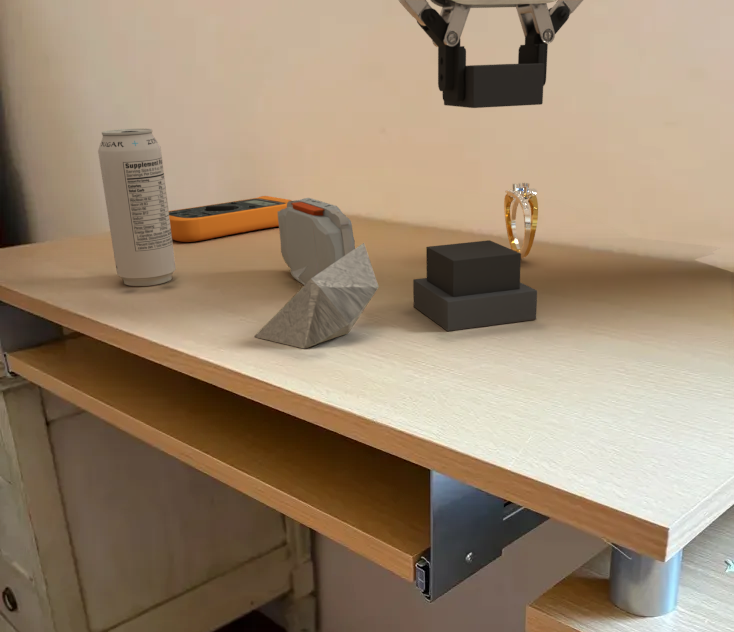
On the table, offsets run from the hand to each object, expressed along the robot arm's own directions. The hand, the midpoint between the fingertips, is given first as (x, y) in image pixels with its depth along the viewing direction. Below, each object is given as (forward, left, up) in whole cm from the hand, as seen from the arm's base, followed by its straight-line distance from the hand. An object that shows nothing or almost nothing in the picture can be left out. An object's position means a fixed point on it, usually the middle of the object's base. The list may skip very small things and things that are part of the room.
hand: (492, 97), depth 67 cm
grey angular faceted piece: (+15, +2, -18) cm, 23 cm away
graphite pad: (0, 0, -1) cm, 1 cm away
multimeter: (+16, -48, -18) cm, 53 cm away
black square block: (+2, +2, -15) cm, 15 cm away
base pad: (+2, +2, -17) cm, 18 cm away
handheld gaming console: (+12, -14, -18) cm, 26 cm away
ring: (-11, -15, -18) cm, 26 cm away
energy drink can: (+28, -23, -18) cm, 41 cm away
